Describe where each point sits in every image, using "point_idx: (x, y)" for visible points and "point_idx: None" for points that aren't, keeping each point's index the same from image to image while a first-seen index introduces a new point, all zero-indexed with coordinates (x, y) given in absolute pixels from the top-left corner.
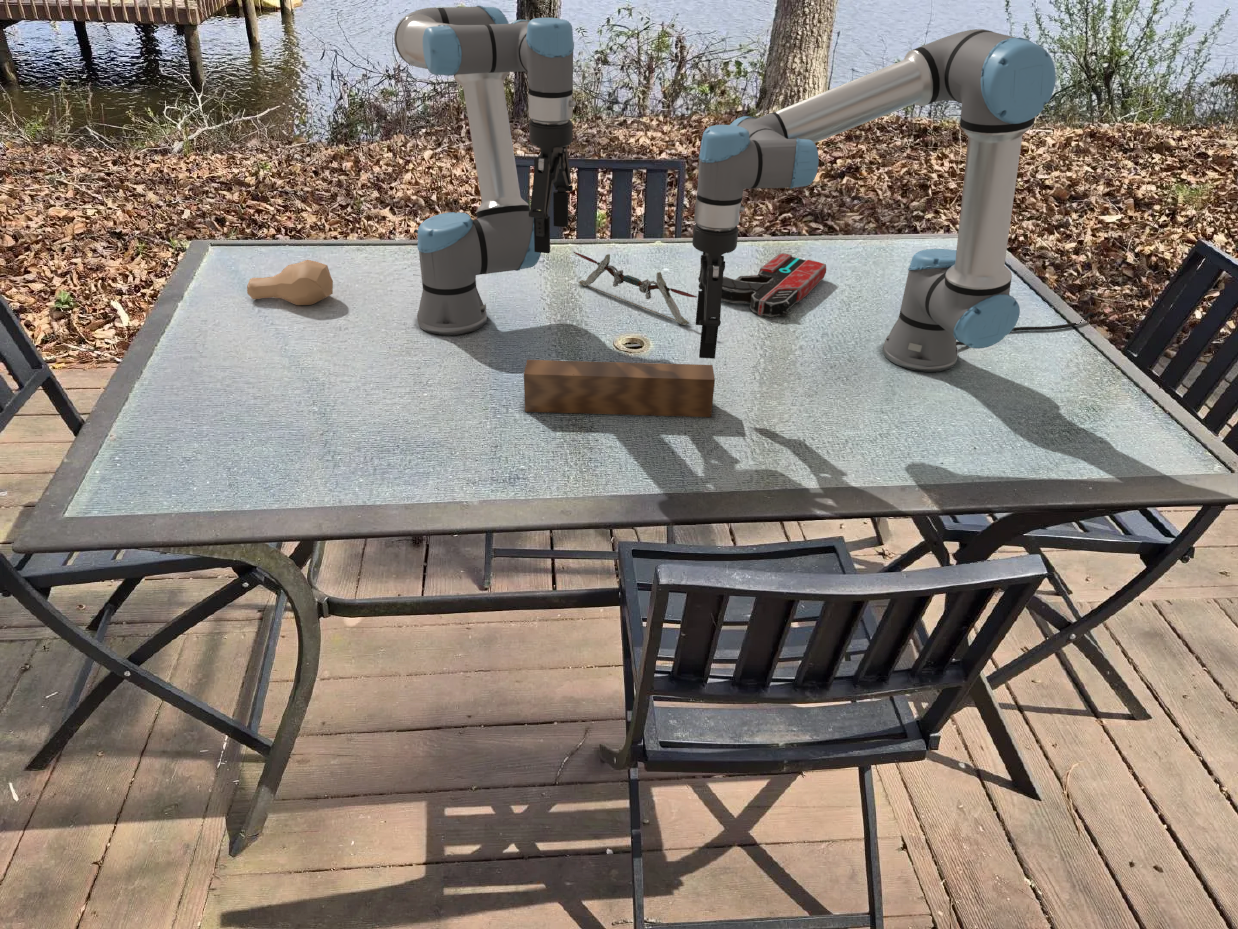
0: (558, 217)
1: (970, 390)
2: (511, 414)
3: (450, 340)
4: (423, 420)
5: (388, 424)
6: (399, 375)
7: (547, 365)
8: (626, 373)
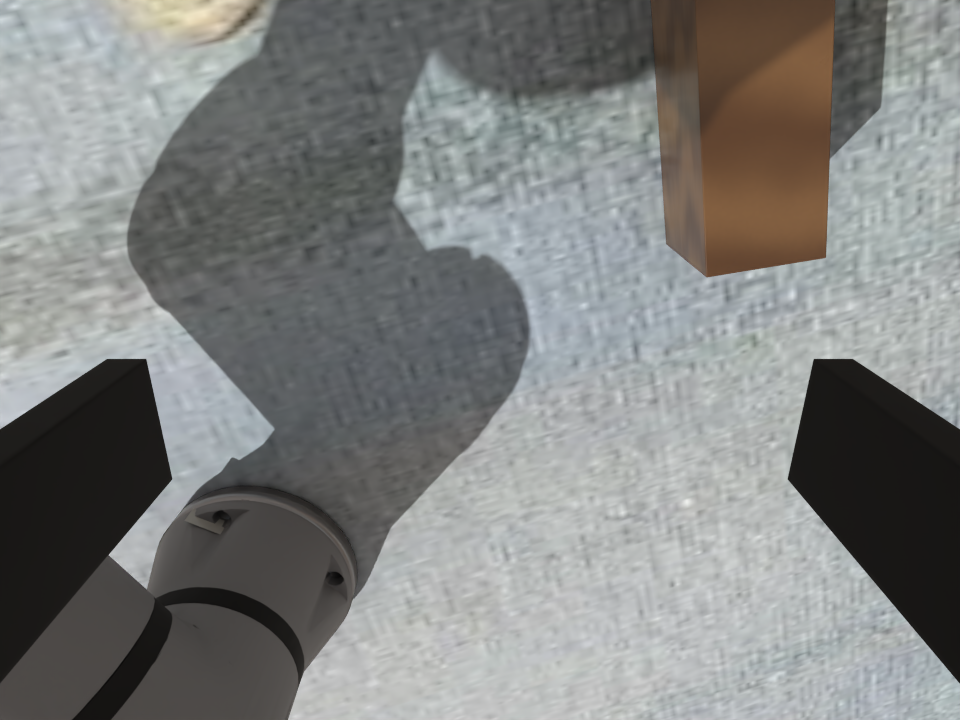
0: (114, 487)
1: None
2: None
3: (376, 536)
4: None
5: None
6: (597, 583)
7: (748, 189)
8: None
